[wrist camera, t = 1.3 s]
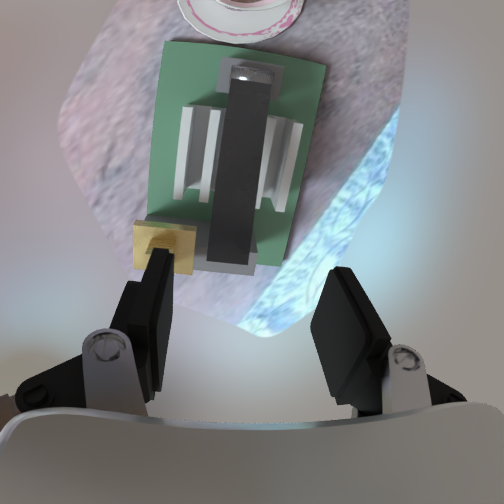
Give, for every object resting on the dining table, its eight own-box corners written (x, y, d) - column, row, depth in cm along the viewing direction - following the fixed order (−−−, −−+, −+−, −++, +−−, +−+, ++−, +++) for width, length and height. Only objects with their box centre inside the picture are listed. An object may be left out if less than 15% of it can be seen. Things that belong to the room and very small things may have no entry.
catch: (136, 219, 24) (124, 239, 21) (196, 226, 25) (193, 246, 22) (136, 262, 26) (126, 285, 23) (193, 268, 27) (189, 292, 24)
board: (166, 42, 24) (151, 31, 18) (323, 66, 26) (348, 62, 20) (148, 248, 34) (135, 282, 28) (279, 262, 36) (290, 297, 31)
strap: (231, 69, 21) (232, 61, 20) (271, 76, 22) (275, 68, 20) (205, 257, 24) (204, 261, 22) (247, 261, 24) (249, 266, 23)
